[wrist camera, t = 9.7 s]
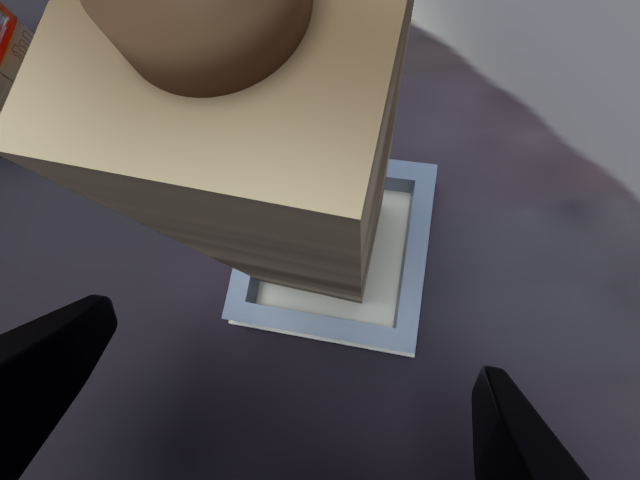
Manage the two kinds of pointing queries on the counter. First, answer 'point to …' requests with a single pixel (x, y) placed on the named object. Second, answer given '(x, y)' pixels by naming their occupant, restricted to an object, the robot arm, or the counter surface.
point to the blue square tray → (381, 285)
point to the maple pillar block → (222, 124)
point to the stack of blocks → (11, 50)
